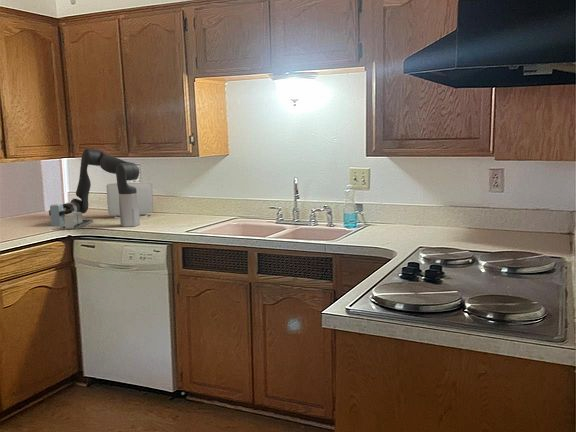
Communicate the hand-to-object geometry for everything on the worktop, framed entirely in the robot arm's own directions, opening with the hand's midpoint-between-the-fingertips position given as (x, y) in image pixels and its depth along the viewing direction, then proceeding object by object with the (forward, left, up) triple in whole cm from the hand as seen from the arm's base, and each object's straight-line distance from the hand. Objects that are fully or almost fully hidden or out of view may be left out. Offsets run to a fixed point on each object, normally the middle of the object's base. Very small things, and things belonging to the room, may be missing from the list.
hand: (55, 214), depth 313 cm
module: (0, -3, -7) cm, 7 cm away
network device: (-26, -36, -7) cm, 45 cm away
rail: (-12, -2, -7) cm, 14 cm away
